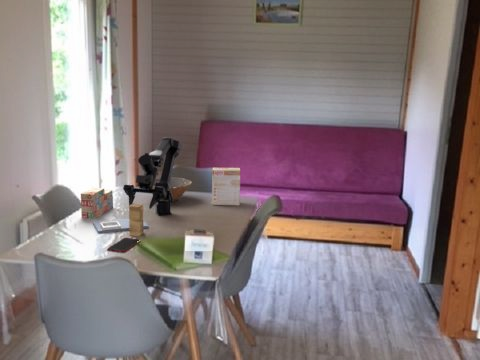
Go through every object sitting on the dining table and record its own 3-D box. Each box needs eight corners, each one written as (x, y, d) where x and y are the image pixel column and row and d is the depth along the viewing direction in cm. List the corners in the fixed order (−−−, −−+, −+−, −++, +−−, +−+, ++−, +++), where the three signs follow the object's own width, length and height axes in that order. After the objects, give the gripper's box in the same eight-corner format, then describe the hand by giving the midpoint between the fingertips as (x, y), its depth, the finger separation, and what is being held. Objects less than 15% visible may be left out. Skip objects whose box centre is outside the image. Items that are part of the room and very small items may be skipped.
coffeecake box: (239, 202, 266) (240, 167, 262) (239, 205, 259) (240, 170, 255) (212, 201, 266) (212, 166, 262) (211, 205, 259) (212, 169, 255)
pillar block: (133, 231, 211) (133, 203, 209) (143, 232, 211) (143, 204, 208) (129, 235, 207) (129, 205, 204) (139, 236, 206) (139, 206, 203)
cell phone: (106, 251, 188) (106, 249, 188) (124, 239, 202) (124, 237, 202) (124, 253, 187) (124, 251, 186) (141, 241, 200) (141, 239, 200)
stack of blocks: (102, 206, 250) (101, 183, 247) (113, 207, 249) (112, 184, 246) (81, 218, 229) (80, 193, 226) (93, 219, 228) (92, 194, 225)
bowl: (174, 191, 285) (174, 175, 283) (200, 200, 268) (200, 182, 266) (137, 198, 269) (137, 180, 267) (162, 207, 251) (162, 189, 249)
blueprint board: (140, 219, 230) (140, 214, 229) (148, 227, 217) (148, 223, 217) (93, 224, 220) (92, 219, 220) (98, 233, 208) (98, 228, 208)
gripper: (124, 166, 214) (113, 196, 205) (164, 169, 210) (155, 199, 202) (131, 180, 223) (122, 209, 214) (170, 183, 219) (161, 212, 211)
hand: (139, 207), depth 210 cm, fingers open, 9 cm apart
